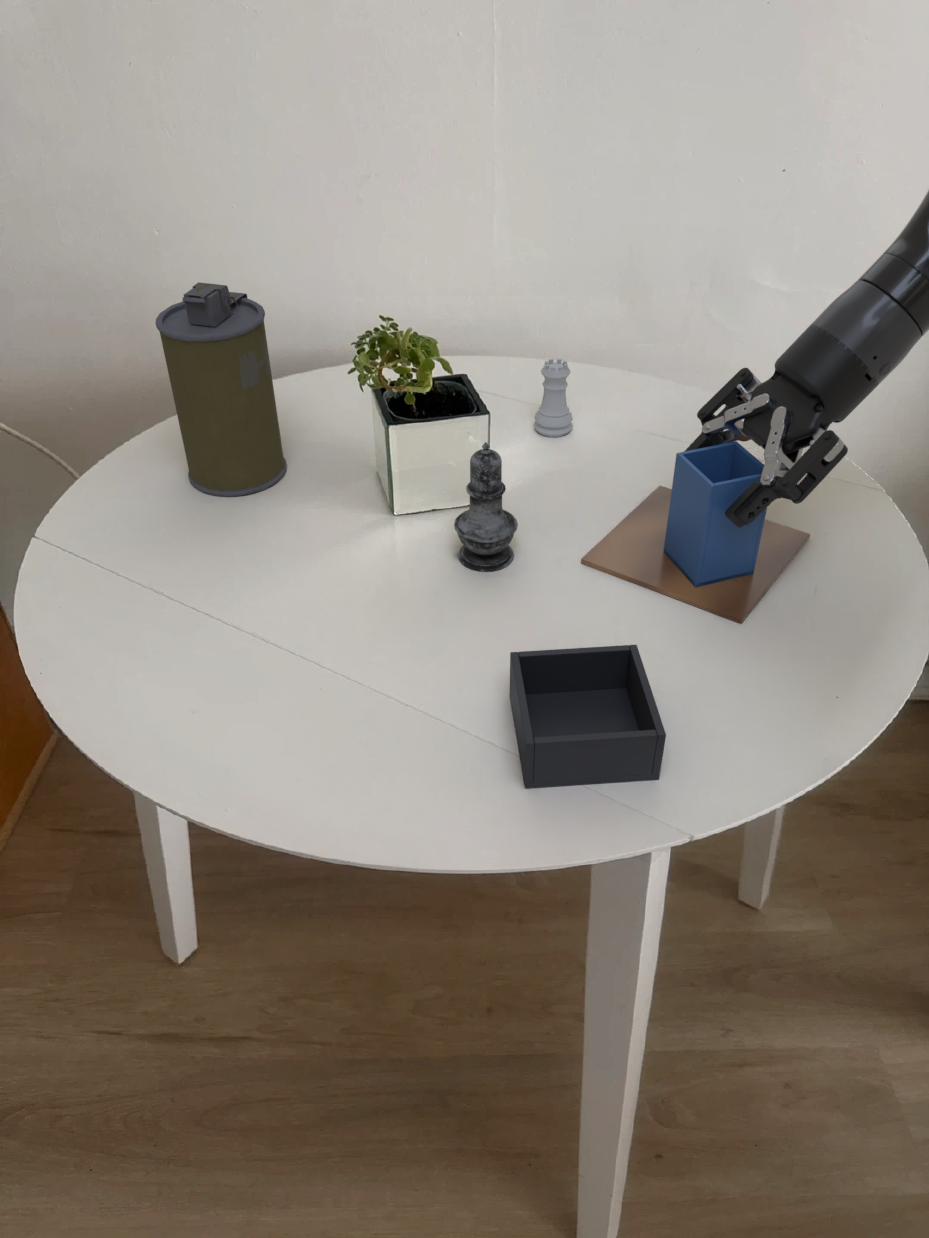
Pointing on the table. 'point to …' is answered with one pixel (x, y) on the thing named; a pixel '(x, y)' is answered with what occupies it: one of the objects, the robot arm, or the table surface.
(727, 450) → the blue bin
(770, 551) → the cork mat
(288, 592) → the table surface
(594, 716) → the black bin
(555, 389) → the rook chess piece
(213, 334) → the canister
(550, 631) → the table surface
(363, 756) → the table surface
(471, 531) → the dark grey tall piece
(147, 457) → the table surface
